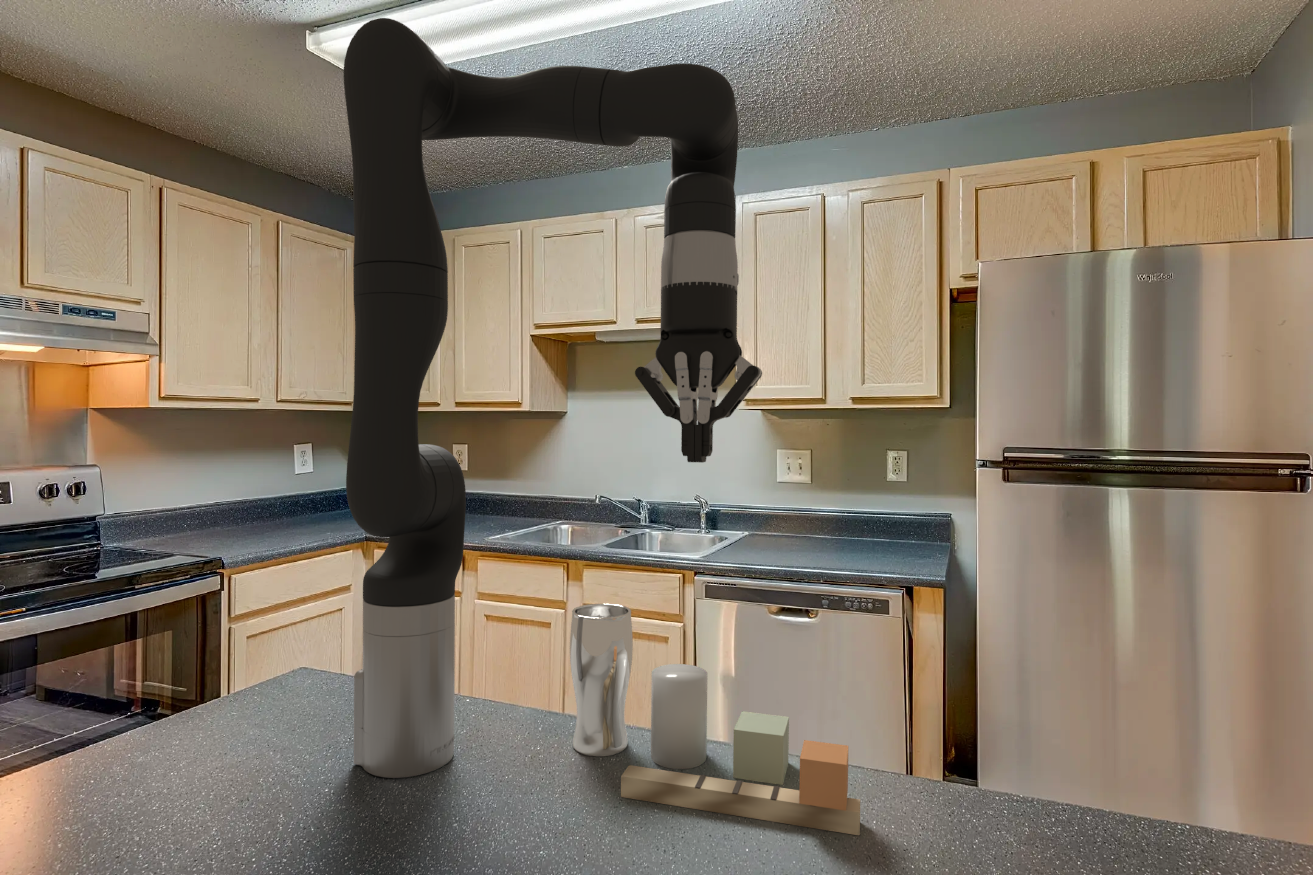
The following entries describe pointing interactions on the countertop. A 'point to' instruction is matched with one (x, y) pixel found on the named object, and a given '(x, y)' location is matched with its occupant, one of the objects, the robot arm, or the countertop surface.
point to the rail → (736, 799)
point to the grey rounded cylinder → (679, 716)
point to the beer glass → (600, 676)
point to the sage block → (761, 747)
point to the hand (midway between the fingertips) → (697, 461)
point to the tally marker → (824, 775)
